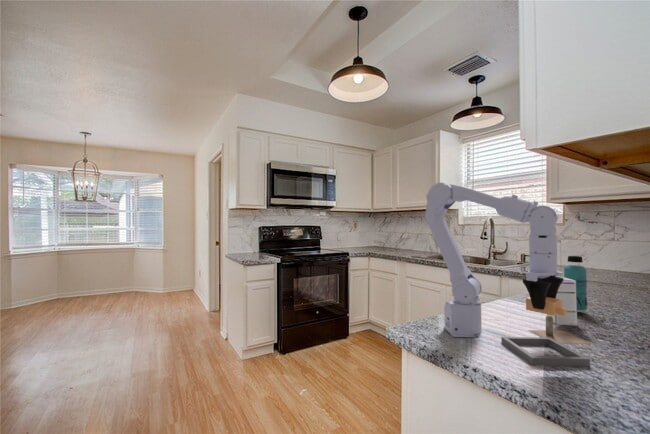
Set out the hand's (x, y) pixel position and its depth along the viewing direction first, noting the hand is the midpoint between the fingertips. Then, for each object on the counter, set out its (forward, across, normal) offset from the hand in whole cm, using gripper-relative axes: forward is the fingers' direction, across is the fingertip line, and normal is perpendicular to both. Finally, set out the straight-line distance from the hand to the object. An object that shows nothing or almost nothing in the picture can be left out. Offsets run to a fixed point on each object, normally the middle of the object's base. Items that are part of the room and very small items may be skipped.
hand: (543, 306), depth 75 cm
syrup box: (+11, +24, +4) cm, 27 cm away
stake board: (+10, +9, 0) cm, 14 cm away
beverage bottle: (+11, +45, +6) cm, 46 cm away
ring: (+1, 0, 0) cm, 1 cm away
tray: (+10, -7, -2) cm, 13 cm away
